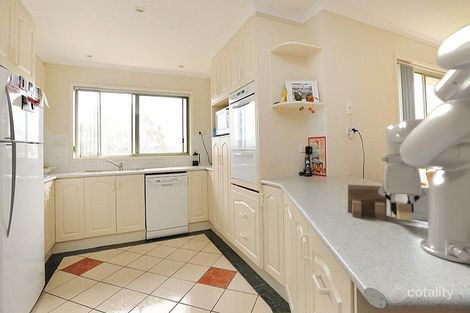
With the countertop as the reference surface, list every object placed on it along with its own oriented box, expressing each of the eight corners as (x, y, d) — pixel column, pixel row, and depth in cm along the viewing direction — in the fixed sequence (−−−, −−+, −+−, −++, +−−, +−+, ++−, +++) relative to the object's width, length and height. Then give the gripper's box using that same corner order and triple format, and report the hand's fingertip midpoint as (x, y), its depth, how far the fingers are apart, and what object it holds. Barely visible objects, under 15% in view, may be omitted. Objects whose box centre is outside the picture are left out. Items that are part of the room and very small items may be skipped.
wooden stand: (389, 220, 85) (390, 189, 85) (348, 216, 91) (348, 186, 90) (385, 215, 92) (386, 186, 91) (347, 211, 98) (347, 184, 97)
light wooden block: (413, 220, 71) (411, 203, 72) (398, 219, 72) (397, 203, 73) (403, 216, 82) (402, 202, 82) (390, 215, 83) (389, 201, 84)
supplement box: (431, 221, 83) (431, 188, 83) (406, 218, 88) (406, 186, 87) (429, 217, 89) (430, 185, 89) (406, 213, 94) (406, 183, 93)
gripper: (373, 160, 77) (375, 214, 76) (435, 159, 70) (437, 219, 69) (370, 160, 83) (372, 210, 83) (426, 160, 77) (428, 214, 76)
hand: (401, 213), depth 76 cm, fingers closed on light wooden block, 3 cm apart
